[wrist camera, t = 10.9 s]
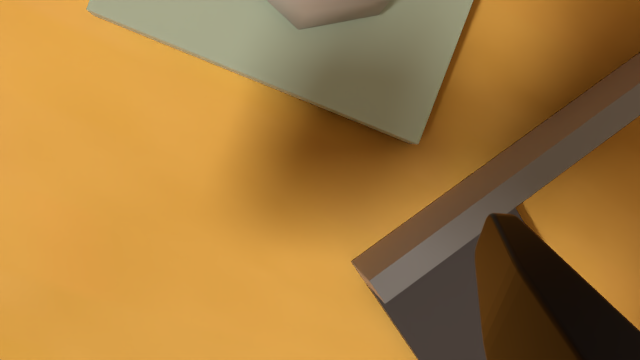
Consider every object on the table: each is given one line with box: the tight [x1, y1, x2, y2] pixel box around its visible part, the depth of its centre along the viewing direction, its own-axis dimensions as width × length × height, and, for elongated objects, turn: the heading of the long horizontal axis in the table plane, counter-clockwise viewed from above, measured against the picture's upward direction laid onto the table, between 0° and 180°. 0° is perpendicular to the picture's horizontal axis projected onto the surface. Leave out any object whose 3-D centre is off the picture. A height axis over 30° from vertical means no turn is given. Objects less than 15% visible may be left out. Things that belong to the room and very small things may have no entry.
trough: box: [351, 53, 640, 360], centre depth 20 cm, size 17×14×2 cm
